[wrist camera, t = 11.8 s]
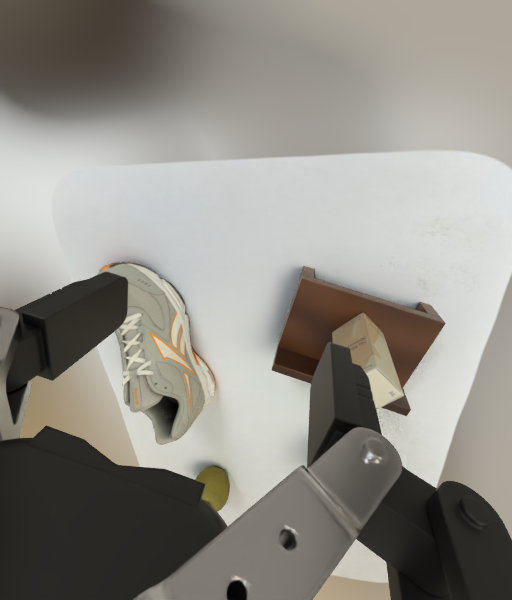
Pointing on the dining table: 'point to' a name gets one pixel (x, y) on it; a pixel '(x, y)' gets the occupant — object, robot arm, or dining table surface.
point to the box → (371, 357)
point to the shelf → (339, 310)
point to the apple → (215, 486)
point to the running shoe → (160, 355)
